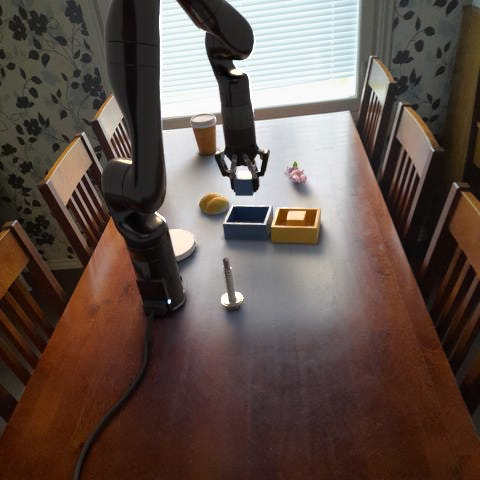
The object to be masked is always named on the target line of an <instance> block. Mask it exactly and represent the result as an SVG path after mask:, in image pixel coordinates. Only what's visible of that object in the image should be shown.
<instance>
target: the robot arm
mask: <svg viewBox="0 0 480 480" xmlns="http://www.w3.org/2000/svg"><path fill="white" fill-rule="evenodd" d="M175 1H176V3H177V4H178V5H179V6H180V8H181V9H182V11H184V13H185V14H186V16H187V17H188V18H189V19H190V21H191V22H192V24H193V25H194V26H195V27H196V28H197V29H198V30H200V31H202V32H205V34H204V49H205V53H206V56H207V59H208V62H209V64H210V67H211V69H212V72H213V75H214V77H215V80H216V83H217V86H218V95H219V102H220V118H221V126H222V132H223V133H222V134H223V141H224V149H222V150H220V149H216V151H215V152H214V155H213V158H214V160H215V163H216V165H217V167H218V169H219V172H220V174H221V176H222V177H226V178H228V179H229V183H230V189H231V190H232V191H233V193H235V188H234V180H233V179H234V177H235V175H236V173H237V170H238V167H247V169H248V171H250V172H251V175H252V177H253V179H252V183H253V192H254V193H257V192H258V191H259V189H260V187H261V186H260V177H261V178H263V177H265V174H266V171H267V167H268V163H269V159H270V154H271V150H270V149H268V148H267V149H260V147H259V145H258V143H257V132H256V115H255V111H254V105H253V99H252V87H251V79H250V76H249V74H248V73H247V72H246V71H244V70H242V69H240V68H238V67H237V66H236V64H235V62H242V61H246V60H248V59H249V58H250V57H251V56H252V54H253V53H254V50H255V45H256V38H255V33H254V30H253V28H252V26H251V24H250V23H249V21H248V20H247V18H246V17H245V16H244V15H242V14H241V13H240V12H239V11H238V10H237V9H236V8H235V7H234V5H232V4H230V3H229V1H227V0H175ZM103 42H104V43H103V49H104V67H105V76H106V78H107V83H108V85H109V88H110V90H111V93H112V95H113V97H114V100H115V101H116V104H117V106H118V108H119V111H120V112H121V114H122V116H123V118H124V121H125V123H126V127H127V131H128V135H129V140H130V152H131V157H123V156H120V157H118V156H117V157H113V158H112V159H110V160H108V161H107V162H106V163H105V165H104V167H103V169H102V171H101V178H100V181H101V182H100V184H101V189H102V190H101V191H102V195H103V198H104V201H105V204H106V206H107V210H108V212H109V214H110V217H111V219H112V222H113V224H114V227H115V229H116V231H117V232H118V234H119V235H120V236H121V237H122V238H123V240H124V243H125V246H126V249H127V253H128V256H129V259H130V263H131V265H132V268H133V271H134V275H135V277H136V279H135V283H136V286H137V289H138V292H139V295H140V299H141V302H142V304H141V307H142V310H143V313H144V315H148V320H147V323H146V327H145V333H144V343H143V361H142V365H141V368H140V370H139V372H138V374H137V376H136V377H135V379H134V381H133V382H132V383H131V385H130V386H129V387H128V388H127V390H126V391H125V393H124V394H123V395H122V397H121V398H120V399H119V400H118V401H117V402H116V403H115V404H114V405H113V406H112V408H110V409H109V411H107V412H106V413H105V415H104V416H103V417H102V418H101V420H100V421H99V422H98V424H97V425H96V427H95V428H94V429H93V431H92V432H91V434H90V435H89V437H88V438H87V440H86V442H85V444H84V445H83V448H82V450H81V452H80V454H79V456H78V460H77V462H76V465H75V468H74V472H73V476H72V480H79V478H80V477H79V476H80V471H81V468H82V466H83V462H84V460H85V457H86V454H87V452H88V450H89V448H90V446H91V444H92V442H93V441H94V439H95V438H96V436H97V435H98V434H99V432H100V430H101V429H102V428H103V427H104V425H105V423H106V422H107V421H108V420H109V419H110V417H112V415H114V413H115V412H116V411H117V410H118V409H119V408H120V407H121V406H122V405H123V403H124V402H125V401H126V400H127V398H128V397H129V396H130V395H131V393H132V392H133V391H134V389H135V388H136V386H137V385H138V384H139V382H140V380H141V379H142V377H143V375H144V373H145V371H146V368H147V365H148V362H149V339H150V338H149V337H150V331H151V326H152V323H153V319H154V317H155V316H163V317H164V316H172V315H173V314H174V313H175V312H176V311H178V310H179V309H181V308H183V306H184V305H185V303H186V300H187V296H186V292H185V290H184V285H183V283H184V282H183V277H182V276H181V274H180V269H179V266H178V261H176V257H175V253H174V248H173V244H172V240H171V236H170V232H169V230H170V229H169V225H168V222H167V220H166V218H165V217H163V216H162V215H161V214H159V213H158V211H159V210H160V209H161V208H162V206H163V205H164V202H165V200H166V195H167V189H168V188H167V187H168V180H167V179H168V178H167V177H168V176H167V164H166V155H165V145H164V143H165V142H164V134H163V133H164V132H163V112H162V109H163V107H162V75H163V74H162V71H163V70H162V68H163V67H162V66H163V63H162V60H163V59H162V58H163V57H162V55H163V54H162V53H163V51H162V50H163V49H162V0H110V3H109V5H108V9H107V12H106V16H105V21H104V27H103ZM258 156H259V159H260V160H261V164H260V168H258V165H257V161H256V157H258ZM226 158H227V159H228V160H229V161H230V162H231V163H230V167H228V165H227V163H226V160H225V159H226Z"/></svg>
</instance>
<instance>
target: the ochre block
mask: <svg viewBox="0 0 480 480" xmlns="http://www.w3.org/2000/svg"><path fill="white" fill-rule="evenodd" d="M286 223H287V226H306V211H289V212H288V216H287V219H286Z"/></svg>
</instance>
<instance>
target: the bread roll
mask: <svg viewBox="0 0 480 480" xmlns="http://www.w3.org/2000/svg"><path fill="white" fill-rule="evenodd" d="M198 207H199V209H200V210H201V211H203V212H204V213H206V214H207V215H209V216H215V215H220V214H223V213H225V212H226V211H227V210H228V209H229V208H230V201H229V200H228V198H227V197H226V196H222V195H221V194H219V193H216V192H209V193H207V194H205V195H204V196H202V197H201V198H200V200H199V201H198Z"/></svg>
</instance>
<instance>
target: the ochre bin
mask: <svg viewBox="0 0 480 480" xmlns="http://www.w3.org/2000/svg"><path fill="white" fill-rule="evenodd" d="M276 207H277V208H276V210H275V214H274V215H273V217H274V219H273V222H272V225H271V230H270V234H271V243H284V244H285V243H289V244H318V240H319V235H320V230H321V223H322V208H321V207H289V206H288V207H287V206H286V207H284V206H283V207H282V206H281V207H280V206H279V207H278V206H276ZM289 211H306V226H287V223H286V219H287V216H288V212H289Z"/></svg>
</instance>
